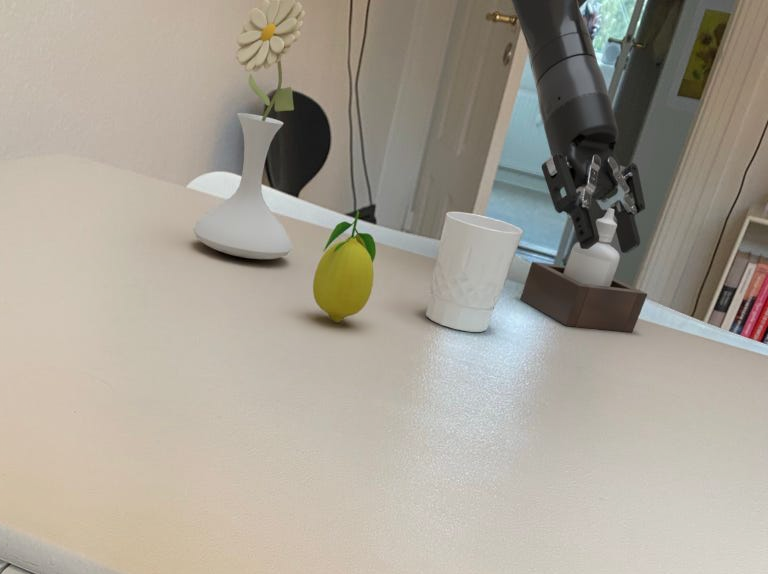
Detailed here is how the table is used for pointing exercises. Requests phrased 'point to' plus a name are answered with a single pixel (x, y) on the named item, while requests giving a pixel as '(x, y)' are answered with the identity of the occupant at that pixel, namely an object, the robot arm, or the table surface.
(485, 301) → the white cup
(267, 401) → the table surface
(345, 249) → the lemon
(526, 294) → the holder
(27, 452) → the table surface
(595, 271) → the eye dropper bottle
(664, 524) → the table surface
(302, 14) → the flower in vase
